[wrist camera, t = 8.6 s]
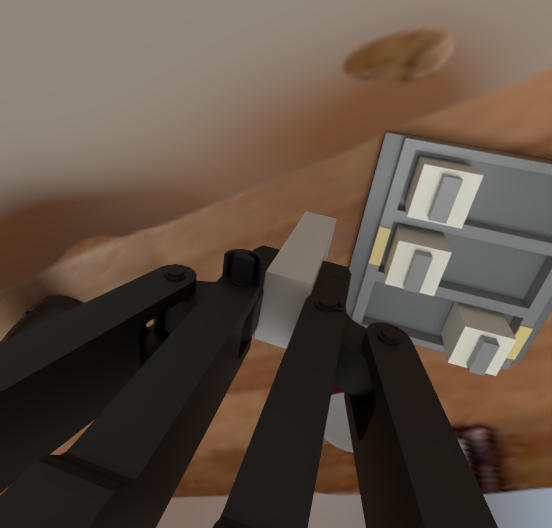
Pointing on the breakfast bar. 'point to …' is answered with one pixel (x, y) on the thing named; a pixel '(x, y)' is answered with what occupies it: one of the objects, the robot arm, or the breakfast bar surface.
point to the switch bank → (460, 244)
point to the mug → (338, 422)
